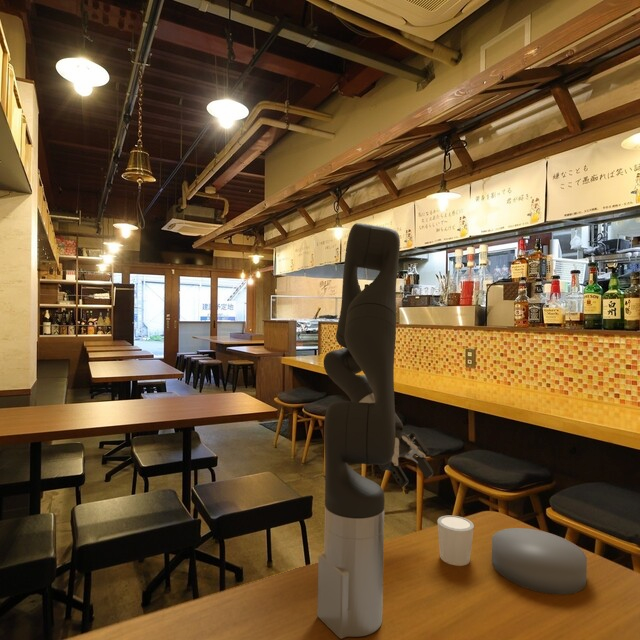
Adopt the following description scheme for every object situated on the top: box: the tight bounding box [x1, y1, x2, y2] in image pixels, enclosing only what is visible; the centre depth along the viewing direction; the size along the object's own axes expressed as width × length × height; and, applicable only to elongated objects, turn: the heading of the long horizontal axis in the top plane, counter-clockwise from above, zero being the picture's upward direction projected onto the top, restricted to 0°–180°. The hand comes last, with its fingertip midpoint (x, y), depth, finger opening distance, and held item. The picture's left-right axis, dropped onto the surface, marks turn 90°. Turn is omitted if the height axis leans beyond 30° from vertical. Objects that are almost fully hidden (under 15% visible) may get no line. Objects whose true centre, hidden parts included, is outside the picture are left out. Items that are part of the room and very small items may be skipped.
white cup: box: [437, 515, 475, 567], centre depth 88 cm, size 7×7×7 cm
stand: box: [491, 527, 588, 596], centre depth 85 cm, size 16×16×4 cm
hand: (418, 480), depth 95 cm, fingers open, 8 cm apart
